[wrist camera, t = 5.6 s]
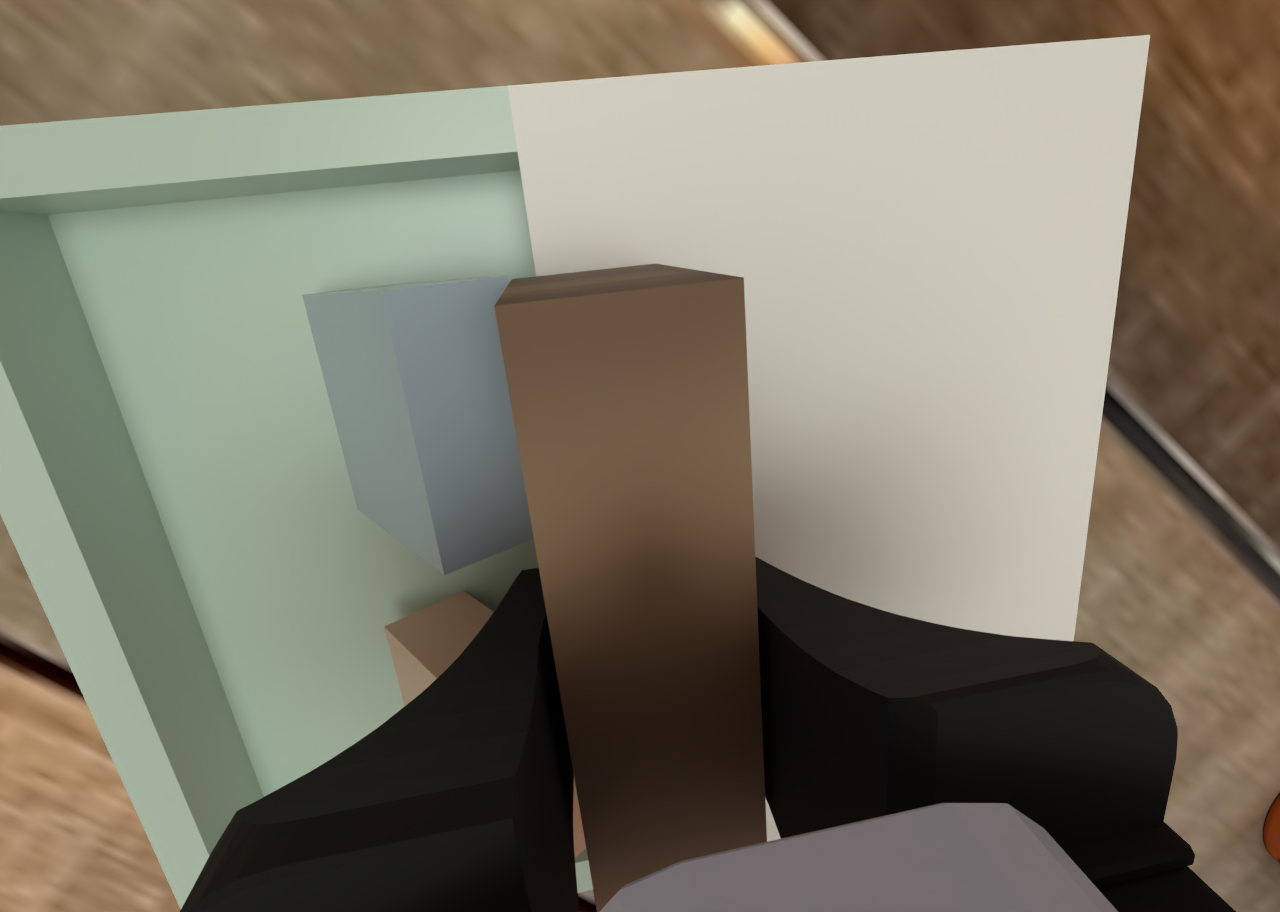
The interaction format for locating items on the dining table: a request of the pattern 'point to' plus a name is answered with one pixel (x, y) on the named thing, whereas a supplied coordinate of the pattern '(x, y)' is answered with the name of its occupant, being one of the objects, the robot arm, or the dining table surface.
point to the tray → (226, 423)
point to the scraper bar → (644, 552)
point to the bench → (883, 295)
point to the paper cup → (1273, 830)
